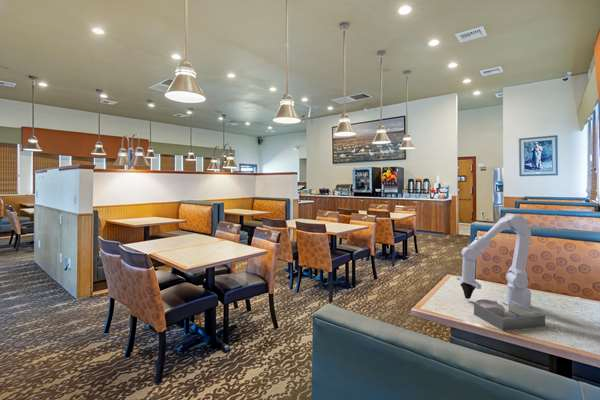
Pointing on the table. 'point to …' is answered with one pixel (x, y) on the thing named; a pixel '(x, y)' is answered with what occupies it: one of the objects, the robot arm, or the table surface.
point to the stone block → (492, 306)
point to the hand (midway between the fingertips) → (467, 298)
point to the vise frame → (509, 319)
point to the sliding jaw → (520, 309)
